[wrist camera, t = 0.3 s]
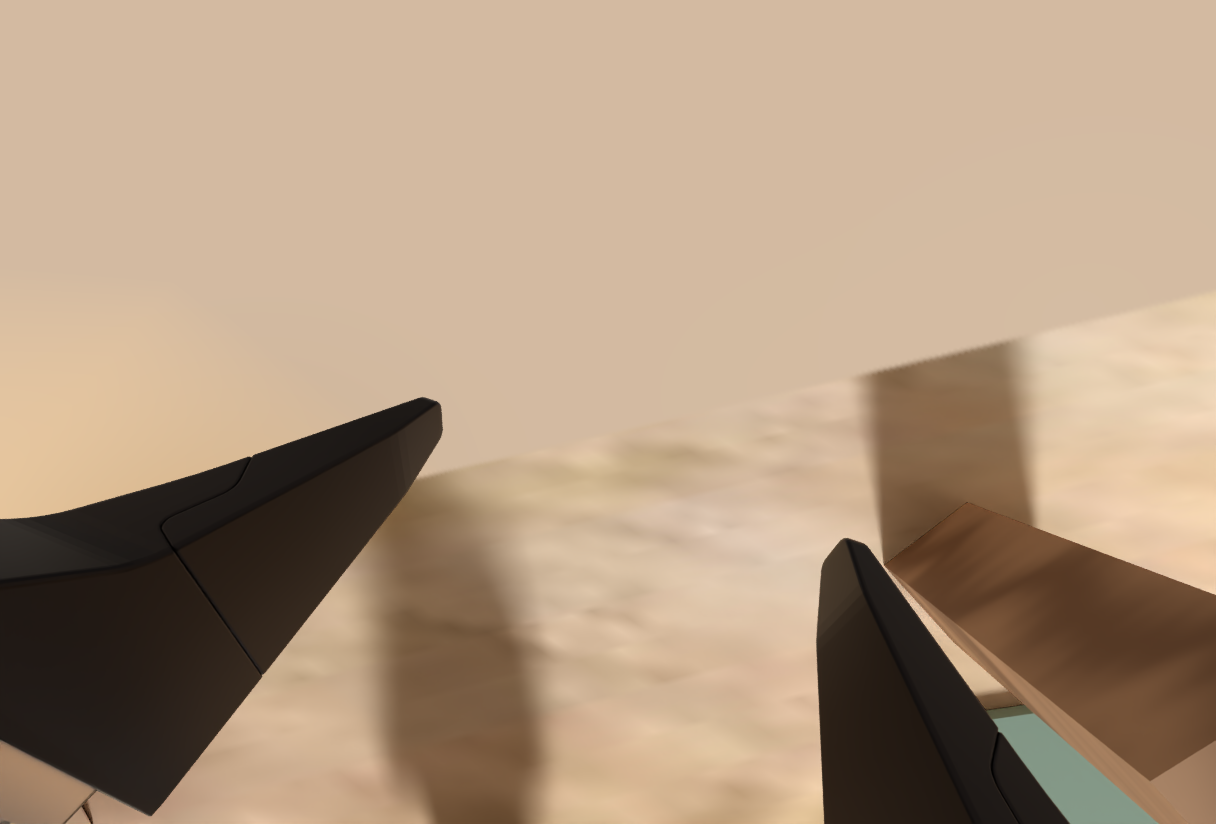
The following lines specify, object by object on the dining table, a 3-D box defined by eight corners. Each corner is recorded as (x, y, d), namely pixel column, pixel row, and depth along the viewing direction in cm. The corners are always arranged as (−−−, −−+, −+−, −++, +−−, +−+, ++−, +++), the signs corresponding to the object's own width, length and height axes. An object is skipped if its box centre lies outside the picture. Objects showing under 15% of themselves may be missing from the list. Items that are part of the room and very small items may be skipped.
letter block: (953, 642, 23) (1316, 963, 10) (883, 565, 23) (1149, 781, 10) (1042, 578, 22) (1553, 835, 9) (969, 500, 23) (1368, 645, 10)
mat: (1229, 885, 22) (1245, 899, 21) (1001, 906, 23) (1010, 919, 23) (1178, 682, 22) (1192, 690, 21) (952, 715, 23) (960, 724, 22)
